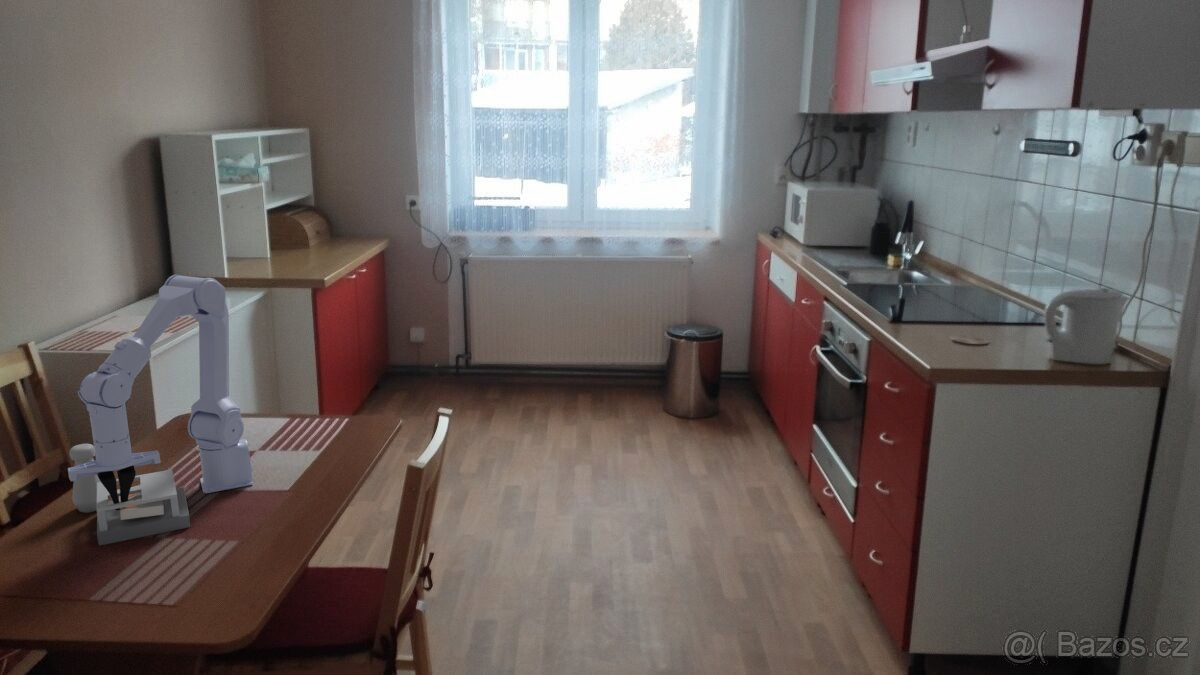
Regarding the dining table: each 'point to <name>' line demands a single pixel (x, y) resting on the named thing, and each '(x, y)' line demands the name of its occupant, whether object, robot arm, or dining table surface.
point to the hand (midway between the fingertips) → (121, 507)
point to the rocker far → (134, 495)
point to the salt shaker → (84, 480)
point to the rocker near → (142, 509)
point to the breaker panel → (144, 522)
